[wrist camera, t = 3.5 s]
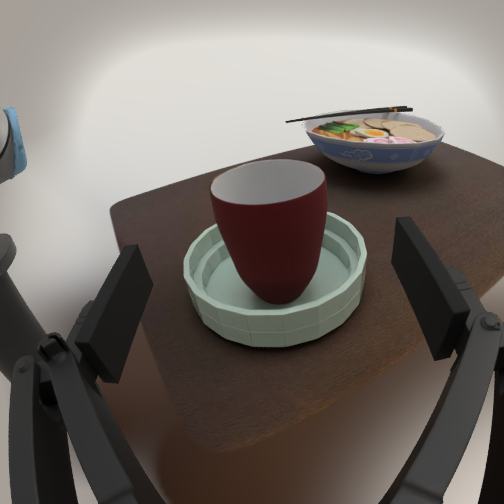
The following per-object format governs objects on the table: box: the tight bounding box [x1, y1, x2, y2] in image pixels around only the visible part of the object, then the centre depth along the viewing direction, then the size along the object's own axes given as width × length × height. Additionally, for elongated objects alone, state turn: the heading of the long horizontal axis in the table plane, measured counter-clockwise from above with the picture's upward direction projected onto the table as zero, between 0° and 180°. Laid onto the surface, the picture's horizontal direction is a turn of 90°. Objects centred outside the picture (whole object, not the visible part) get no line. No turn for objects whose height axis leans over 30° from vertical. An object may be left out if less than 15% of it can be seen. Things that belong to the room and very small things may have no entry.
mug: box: [210, 159, 327, 304], centre depth 26 cm, size 10×8×10 cm
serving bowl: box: [184, 212, 367, 347], centre depth 28 cm, size 15×15×4 cm
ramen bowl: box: [286, 106, 445, 174], centre depth 47 cm, size 25×23×8 cm
